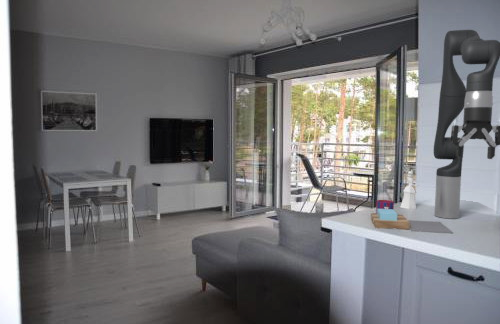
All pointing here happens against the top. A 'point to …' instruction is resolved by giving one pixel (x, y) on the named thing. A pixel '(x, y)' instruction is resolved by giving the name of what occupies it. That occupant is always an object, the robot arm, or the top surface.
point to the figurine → (409, 193)
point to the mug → (384, 204)
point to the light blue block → (387, 214)
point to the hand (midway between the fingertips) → (474, 158)
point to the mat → (428, 226)
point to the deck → (390, 222)
